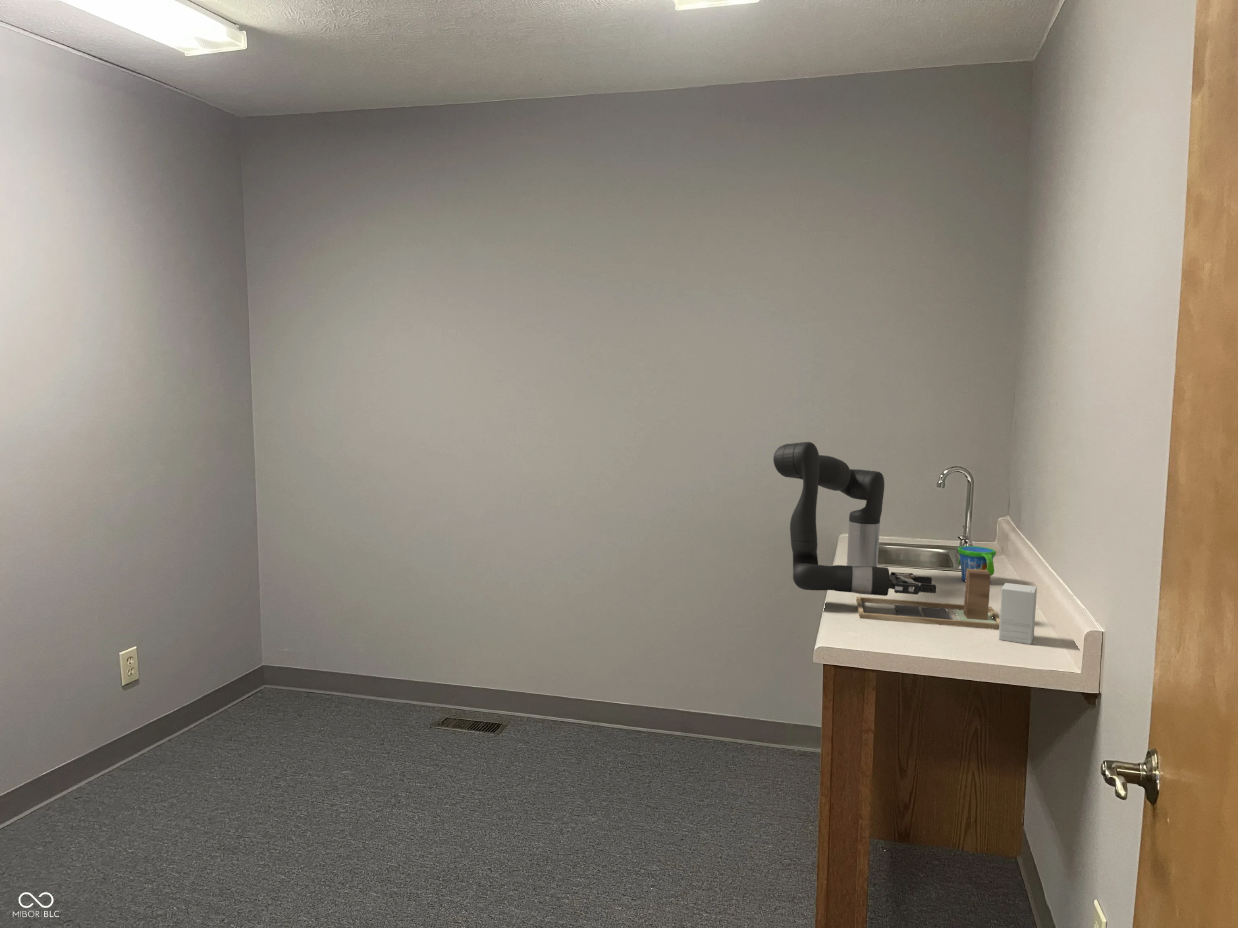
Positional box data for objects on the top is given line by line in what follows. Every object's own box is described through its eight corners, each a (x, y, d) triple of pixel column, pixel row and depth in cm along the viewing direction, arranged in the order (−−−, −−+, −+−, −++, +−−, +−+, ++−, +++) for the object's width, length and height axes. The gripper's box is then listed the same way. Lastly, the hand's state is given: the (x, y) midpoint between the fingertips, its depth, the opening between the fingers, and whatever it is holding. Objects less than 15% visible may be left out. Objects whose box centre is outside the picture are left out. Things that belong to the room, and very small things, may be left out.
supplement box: (1034, 637, 210) (1038, 586, 209) (1031, 645, 204) (1035, 592, 203) (1001, 632, 214) (1005, 581, 213) (997, 639, 208) (1001, 587, 206)
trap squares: (894, 606, 236) (894, 604, 236) (945, 610, 233) (945, 608, 233) (899, 618, 224) (899, 616, 224) (952, 622, 221) (952, 620, 221)
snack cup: (947, 575, 275) (949, 543, 274) (979, 575, 276) (981, 544, 275) (969, 587, 260) (971, 553, 259) (1003, 587, 260) (1006, 554, 259)
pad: (954, 610, 233) (954, 609, 233) (988, 613, 231) (988, 612, 231) (961, 623, 221) (961, 621, 221) (997, 625, 219) (997, 624, 219)
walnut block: (963, 613, 229) (966, 568, 228) (983, 614, 228) (986, 570, 226) (966, 618, 224) (969, 572, 223) (987, 620, 223) (990, 574, 222)
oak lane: (856, 600, 241) (856, 596, 241) (991, 610, 233) (991, 606, 233) (859, 617, 223) (859, 613, 223) (1005, 629, 216) (1005, 625, 216)
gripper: (872, 572, 223) (938, 576, 220) (868, 561, 237) (931, 565, 234) (870, 600, 224) (936, 605, 221) (867, 587, 238) (929, 592, 235)
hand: (933, 584), depth 227 cm, fingers open, 8 cm apart
